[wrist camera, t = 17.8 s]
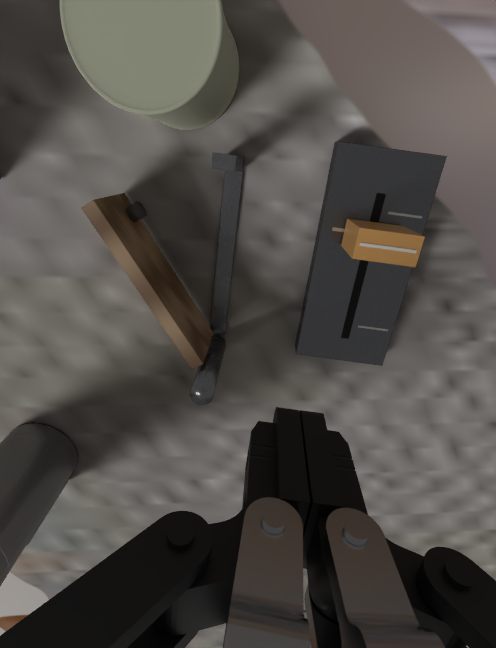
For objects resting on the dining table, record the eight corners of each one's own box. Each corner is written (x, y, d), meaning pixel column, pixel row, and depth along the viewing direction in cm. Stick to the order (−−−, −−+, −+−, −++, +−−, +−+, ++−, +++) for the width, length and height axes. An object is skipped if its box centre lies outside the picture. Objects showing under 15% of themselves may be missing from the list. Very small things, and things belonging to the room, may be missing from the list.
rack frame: (224, 352, 42) (212, 406, 33) (206, 349, 42) (189, 403, 33) (246, 157, 34) (238, 155, 25) (224, 154, 34) (207, 151, 25)
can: (249, 13, 30) (238, -74, 19) (228, 140, 33) (207, 130, 22) (134, -15, 29) (52, -121, 18) (125, 117, 33) (53, 95, 22)
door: (223, 327, 40) (214, 358, 34) (203, 337, 40) (191, 369, 34) (134, 186, 34) (105, 191, 28) (114, 199, 35) (81, 207, 29)
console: (377, 356, 41) (382, 365, 39) (295, 345, 41) (296, 354, 39) (436, 156, 33) (446, 156, 31) (334, 142, 33) (338, 141, 31)
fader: (396, 253, 34) (415, 267, 29) (341, 245, 34) (352, 259, 29) (403, 226, 33) (425, 236, 28) (347, 218, 33) (359, 227, 28)
